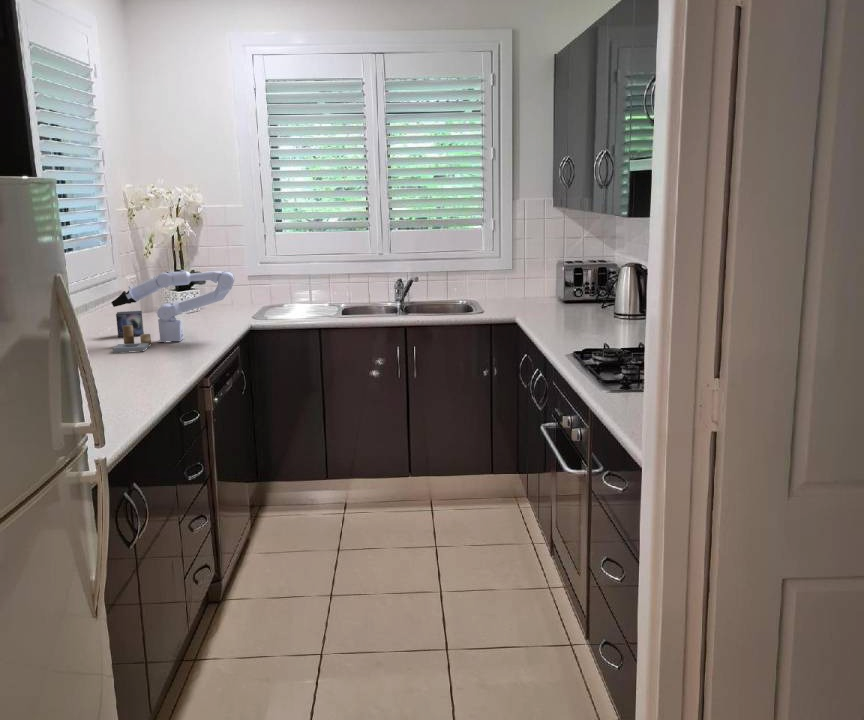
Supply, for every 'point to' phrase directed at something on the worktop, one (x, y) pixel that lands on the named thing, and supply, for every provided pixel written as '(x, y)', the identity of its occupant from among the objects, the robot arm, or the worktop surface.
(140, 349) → the board
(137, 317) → the small box
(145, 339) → the short dowel
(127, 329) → the long dowel
